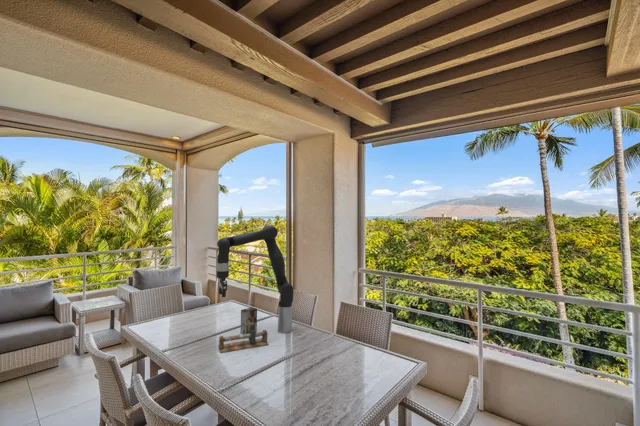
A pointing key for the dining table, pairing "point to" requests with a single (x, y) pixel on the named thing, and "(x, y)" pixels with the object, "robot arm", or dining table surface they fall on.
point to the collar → (252, 333)
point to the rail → (242, 342)
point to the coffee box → (248, 320)
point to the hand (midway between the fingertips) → (222, 295)
